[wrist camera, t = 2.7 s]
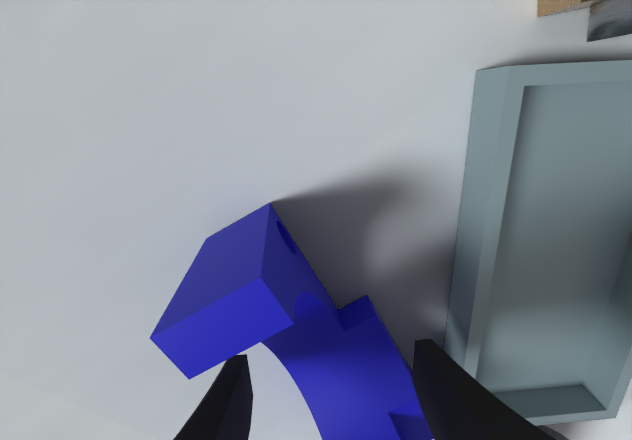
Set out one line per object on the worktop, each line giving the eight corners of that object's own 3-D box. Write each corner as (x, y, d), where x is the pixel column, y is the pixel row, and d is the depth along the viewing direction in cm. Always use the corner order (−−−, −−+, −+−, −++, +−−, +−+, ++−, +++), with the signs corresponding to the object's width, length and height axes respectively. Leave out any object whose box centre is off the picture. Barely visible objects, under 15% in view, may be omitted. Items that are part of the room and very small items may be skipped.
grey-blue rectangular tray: (583, 386, 18) (615, 417, 16) (437, 399, 17) (454, 433, 16) (690, 60, 12) (759, 53, 10) (476, 70, 12) (508, 65, 10)
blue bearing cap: (416, 379, 17) (483, 516, 11) (340, 416, 17) (369, 568, 12) (302, 184, 13) (318, 245, 7) (206, 238, 13) (149, 338, 7)
